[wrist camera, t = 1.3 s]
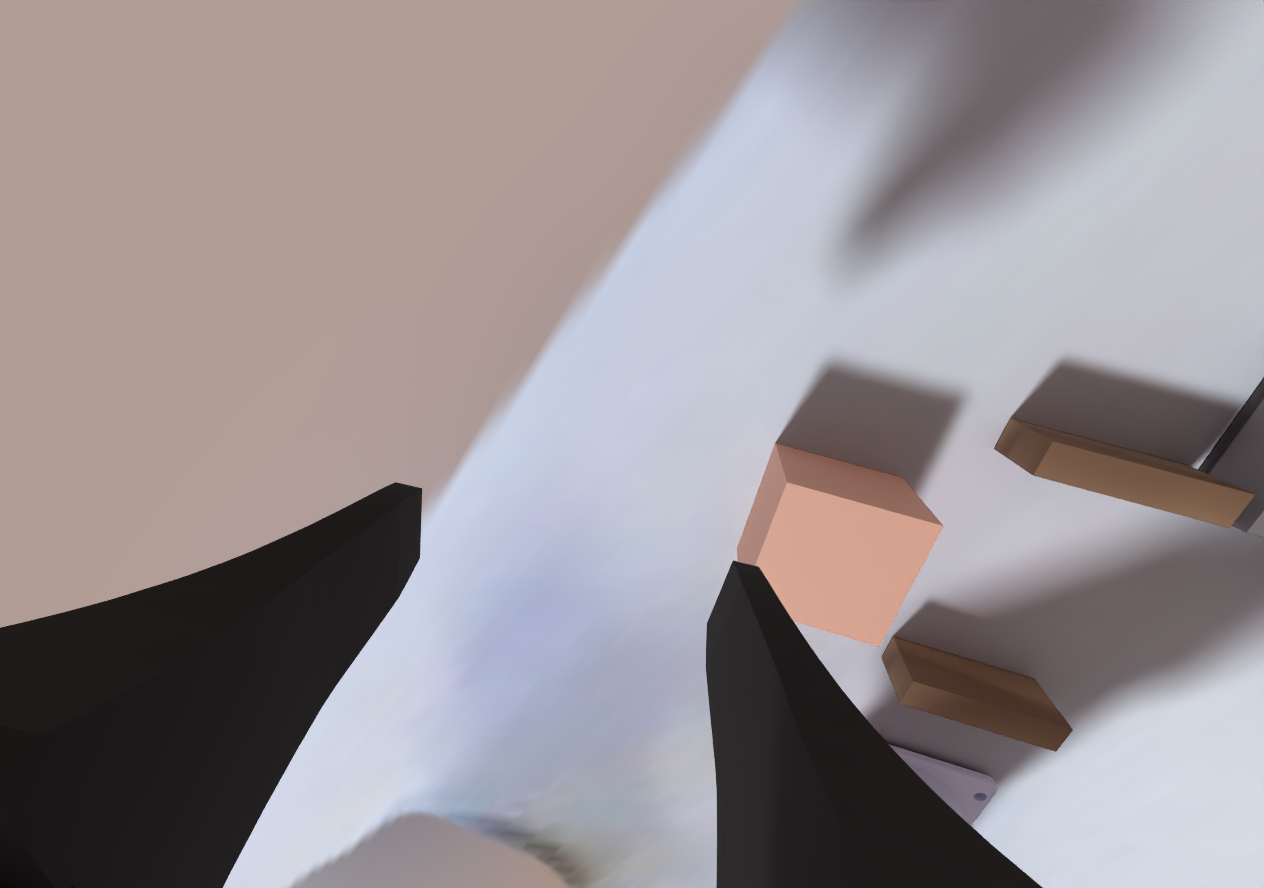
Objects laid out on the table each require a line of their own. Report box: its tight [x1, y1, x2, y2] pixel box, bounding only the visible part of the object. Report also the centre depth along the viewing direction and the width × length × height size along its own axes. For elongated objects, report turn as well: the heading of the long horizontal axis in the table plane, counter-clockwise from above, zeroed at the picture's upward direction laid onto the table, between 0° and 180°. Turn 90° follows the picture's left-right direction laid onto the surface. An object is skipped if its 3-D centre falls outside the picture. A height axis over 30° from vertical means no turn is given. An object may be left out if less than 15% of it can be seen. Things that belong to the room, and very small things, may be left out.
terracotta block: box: [737, 443, 943, 647], centre depth 19 cm, size 5×5×4 cm
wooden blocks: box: [882, 419, 1255, 751], centre depth 19 cm, size 11×6×2 cm, turn 167°
